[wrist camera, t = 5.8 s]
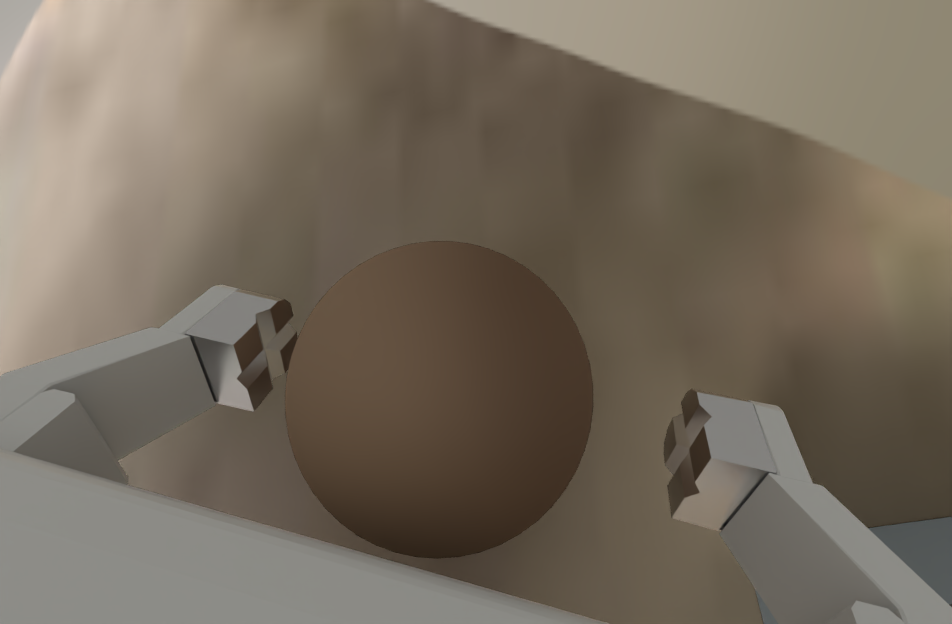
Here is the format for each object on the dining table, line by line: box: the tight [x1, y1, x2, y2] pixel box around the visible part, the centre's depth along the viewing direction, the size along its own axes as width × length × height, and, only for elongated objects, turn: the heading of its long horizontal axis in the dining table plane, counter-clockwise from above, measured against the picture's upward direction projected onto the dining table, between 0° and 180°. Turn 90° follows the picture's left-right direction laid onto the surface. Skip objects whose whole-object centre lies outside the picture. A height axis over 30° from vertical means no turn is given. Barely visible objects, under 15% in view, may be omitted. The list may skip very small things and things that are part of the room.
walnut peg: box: [285, 241, 593, 558], centre depth 11 cm, size 4×4×10 cm
